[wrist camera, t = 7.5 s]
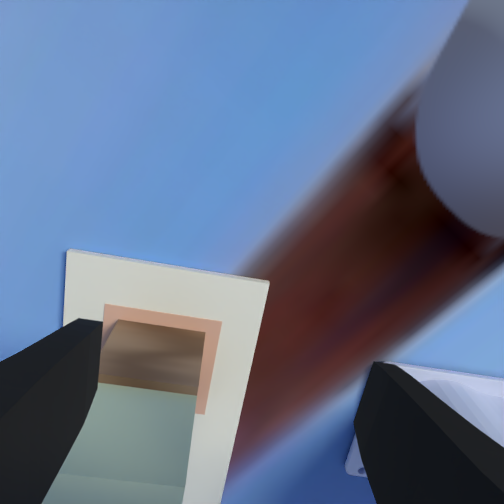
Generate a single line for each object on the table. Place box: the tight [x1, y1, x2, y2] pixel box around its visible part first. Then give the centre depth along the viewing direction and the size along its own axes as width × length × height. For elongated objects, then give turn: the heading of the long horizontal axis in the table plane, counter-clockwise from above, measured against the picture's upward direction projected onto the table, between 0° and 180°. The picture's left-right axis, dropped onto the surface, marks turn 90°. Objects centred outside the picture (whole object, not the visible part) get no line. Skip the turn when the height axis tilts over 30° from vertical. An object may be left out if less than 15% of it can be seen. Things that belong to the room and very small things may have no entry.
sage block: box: [42, 383, 197, 504], centre depth 16 cm, size 4×4×4 cm
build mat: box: [63, 249, 269, 504], centre depth 23 cm, size 10×17×1 cm, turn 169°
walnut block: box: [98, 319, 206, 396], centre depth 20 cm, size 4×4×4 cm
